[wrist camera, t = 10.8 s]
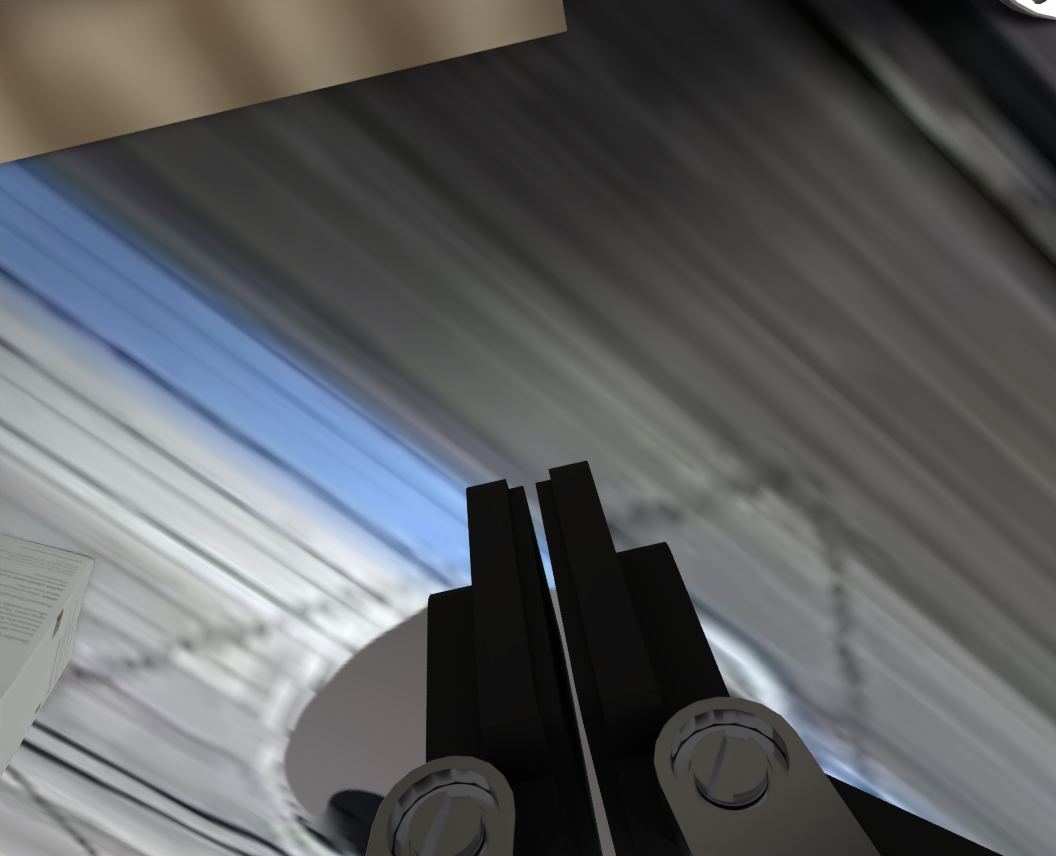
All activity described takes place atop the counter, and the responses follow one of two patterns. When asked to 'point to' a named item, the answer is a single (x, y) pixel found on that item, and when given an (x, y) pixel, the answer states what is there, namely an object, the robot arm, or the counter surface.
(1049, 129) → the counter surface
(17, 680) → the skincare box
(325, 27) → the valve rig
